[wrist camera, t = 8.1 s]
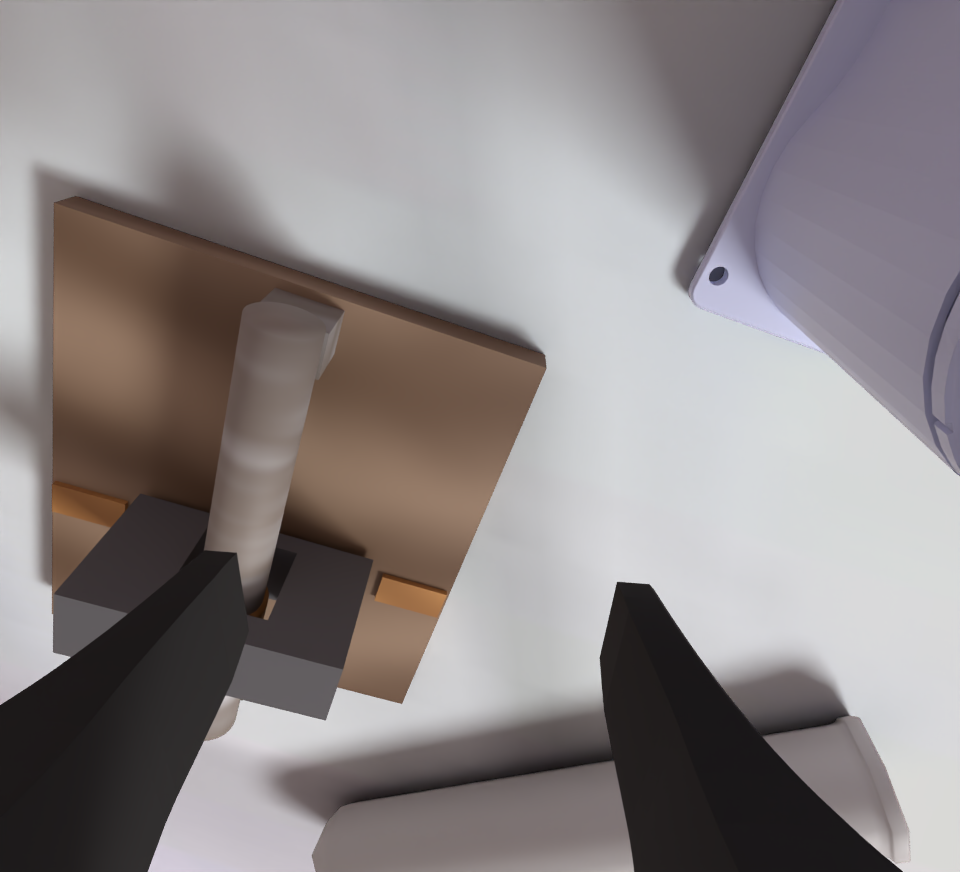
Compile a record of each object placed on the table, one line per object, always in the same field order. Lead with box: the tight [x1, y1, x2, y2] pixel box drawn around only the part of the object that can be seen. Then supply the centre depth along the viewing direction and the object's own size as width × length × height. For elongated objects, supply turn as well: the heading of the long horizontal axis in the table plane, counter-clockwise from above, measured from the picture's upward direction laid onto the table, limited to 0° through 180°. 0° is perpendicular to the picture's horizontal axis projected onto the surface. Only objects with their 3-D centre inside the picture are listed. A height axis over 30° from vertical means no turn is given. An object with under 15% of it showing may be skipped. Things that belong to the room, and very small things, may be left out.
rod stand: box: [52, 196, 546, 741], centre depth 21 cm, size 16×14×5 cm
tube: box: [312, 716, 911, 872], centre depth 29 cm, size 5×5×25 cm
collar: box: [53, 494, 373, 720], centre depth 21 cm, size 2×8×5 cm, turn 71°
